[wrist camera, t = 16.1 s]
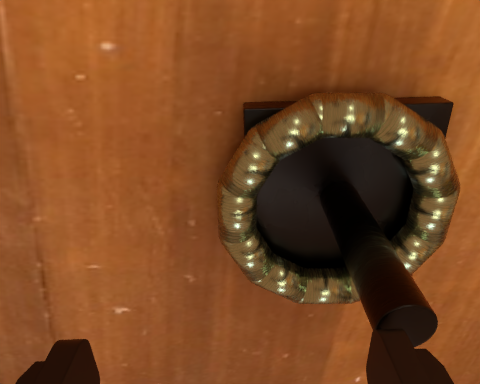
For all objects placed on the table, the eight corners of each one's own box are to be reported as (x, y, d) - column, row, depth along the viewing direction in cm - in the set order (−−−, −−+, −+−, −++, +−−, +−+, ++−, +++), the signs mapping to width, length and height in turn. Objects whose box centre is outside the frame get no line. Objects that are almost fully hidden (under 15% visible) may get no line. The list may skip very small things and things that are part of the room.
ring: (415, 286, 20) (431, 311, 19) (221, 287, 20) (220, 311, 19) (472, 88, 15) (500, 98, 14) (215, 88, 15) (212, 98, 14)
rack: (405, 255, 21) (514, 419, 13) (247, 259, 21) (252, 425, 13) (440, 96, 17) (636, 184, 8) (243, 102, 17) (247, 195, 9)
